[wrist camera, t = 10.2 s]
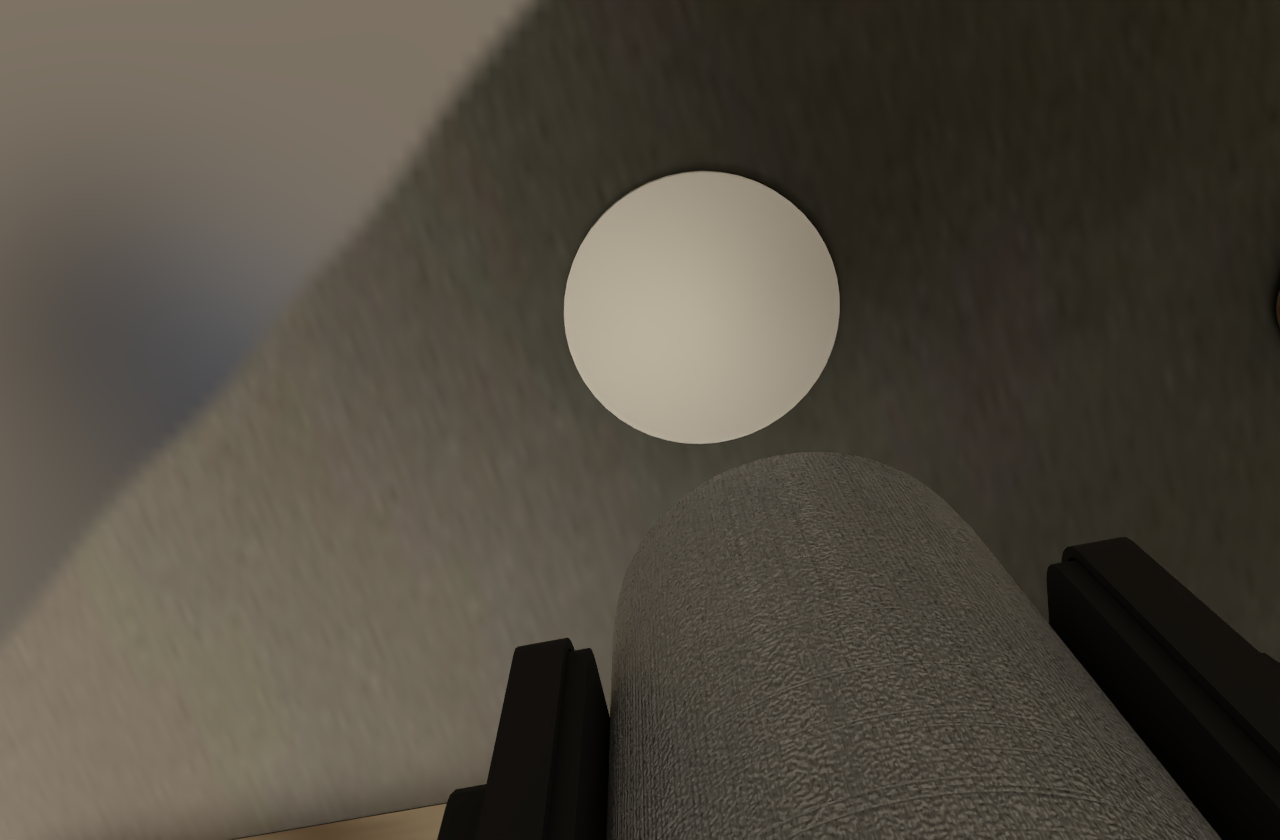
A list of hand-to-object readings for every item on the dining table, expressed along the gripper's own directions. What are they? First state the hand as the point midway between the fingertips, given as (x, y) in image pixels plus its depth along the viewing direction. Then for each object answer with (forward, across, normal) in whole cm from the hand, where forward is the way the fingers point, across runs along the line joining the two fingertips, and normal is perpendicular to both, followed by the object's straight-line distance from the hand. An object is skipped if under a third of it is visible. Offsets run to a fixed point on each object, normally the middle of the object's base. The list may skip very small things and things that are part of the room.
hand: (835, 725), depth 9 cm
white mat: (+19, 0, 0) cm, 19 cm away
